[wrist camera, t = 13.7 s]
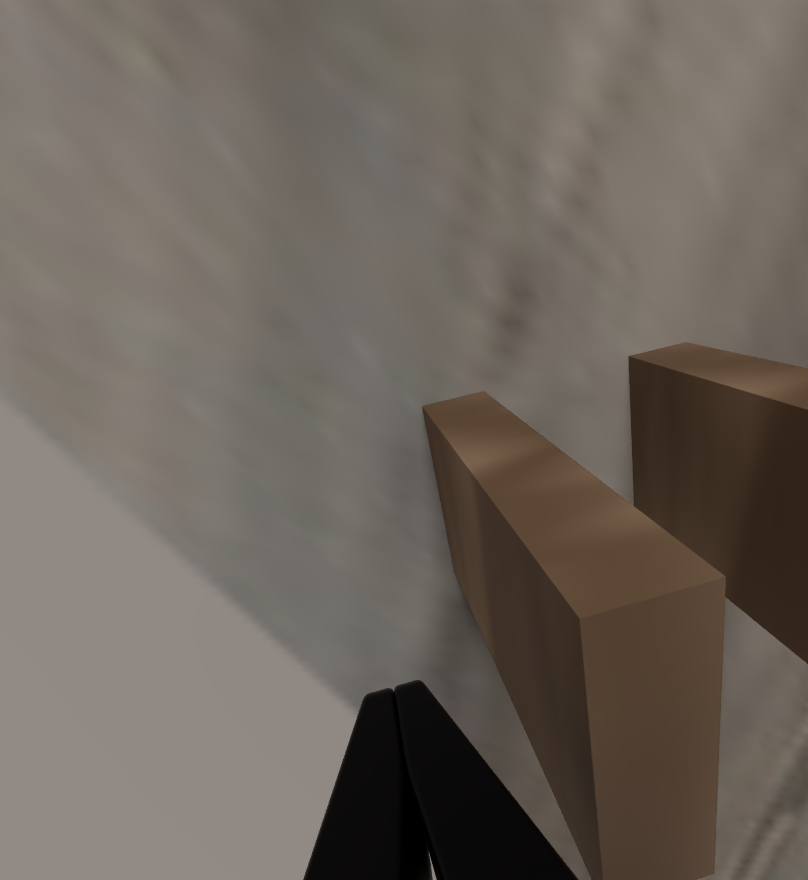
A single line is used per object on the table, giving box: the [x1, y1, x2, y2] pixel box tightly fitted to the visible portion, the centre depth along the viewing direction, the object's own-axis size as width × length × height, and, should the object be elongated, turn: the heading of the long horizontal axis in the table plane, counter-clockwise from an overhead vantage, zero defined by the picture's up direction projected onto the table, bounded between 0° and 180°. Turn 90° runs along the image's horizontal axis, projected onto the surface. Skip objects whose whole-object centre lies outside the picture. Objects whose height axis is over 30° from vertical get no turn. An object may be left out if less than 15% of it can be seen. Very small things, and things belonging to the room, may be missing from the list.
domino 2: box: [629, 343, 808, 664], centre depth 10 cm, size 2×5×8 cm, turn 11°
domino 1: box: [422, 391, 726, 880], centre depth 10 cm, size 2×5×8 cm, turn 12°
